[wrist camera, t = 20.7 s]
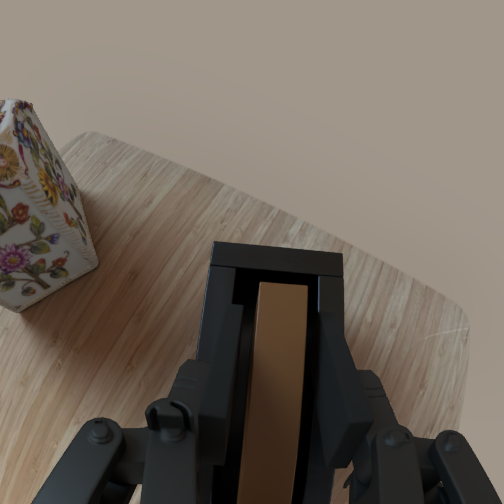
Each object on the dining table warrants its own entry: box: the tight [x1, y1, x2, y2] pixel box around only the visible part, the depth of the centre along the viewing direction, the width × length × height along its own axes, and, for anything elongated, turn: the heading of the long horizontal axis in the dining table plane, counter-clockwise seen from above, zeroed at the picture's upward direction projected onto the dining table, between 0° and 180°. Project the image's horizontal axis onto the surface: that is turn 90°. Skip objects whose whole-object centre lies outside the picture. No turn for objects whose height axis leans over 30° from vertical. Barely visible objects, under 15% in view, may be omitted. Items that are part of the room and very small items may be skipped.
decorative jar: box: [0, 99, 98, 313], centre depth 18 cm, size 12×12×18 cm
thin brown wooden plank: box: [237, 282, 308, 504], centre depth 15 cm, size 11×2×12 cm, turn 175°
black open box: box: [196, 241, 344, 504], centre depth 17 cm, size 18×8×9 cm, turn 175°
